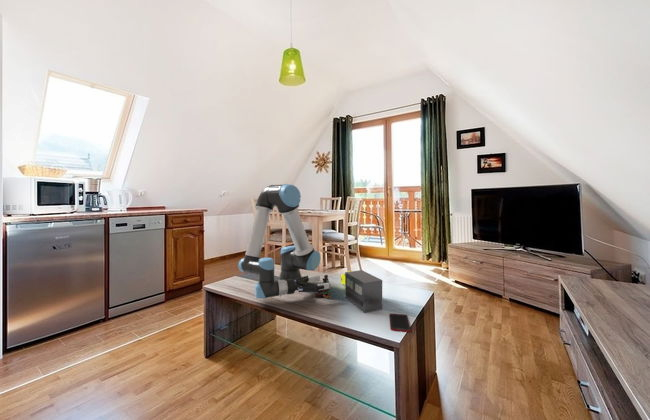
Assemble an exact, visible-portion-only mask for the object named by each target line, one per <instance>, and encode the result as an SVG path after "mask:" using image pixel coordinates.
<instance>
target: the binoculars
mask: <svg viewBox="0 0 650 420" xmlns="http://www.w3.org/2000/svg"><path fill="white" fill-rule="evenodd" d="M324 283H330V281H329V276H328V274H324V275H323V278H322V282H321V284H324ZM330 288H331V287H330ZM330 288H329V289H322V290H318V292H317V293H316V294H315V296H316V298H320V297H323V298H326V299H327V298H328V299H329V298H330V295H331V289H330Z"/></svg>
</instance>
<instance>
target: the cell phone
mask: <svg viewBox="0 0 650 420" xmlns="http://www.w3.org/2000/svg"><path fill="white" fill-rule="evenodd" d="M389 324H390V331H392V332H402V333H411V330H412V329H411V325H410V321H409V316H408V314H404V313H389Z"/></svg>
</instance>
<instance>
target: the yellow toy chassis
mask: <svg viewBox="0 0 650 420" xmlns="http://www.w3.org/2000/svg"><path fill="white" fill-rule="evenodd" d="M347 272H351V270H347ZM340 284H342V285H344V286H345V273H342V274H341V275H340Z"/></svg>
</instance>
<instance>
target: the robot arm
mask: <svg viewBox="0 0 650 420" xmlns="http://www.w3.org/2000/svg"><path fill="white" fill-rule="evenodd" d="M301 198H302V197H301V192H300V190H299V188H298V187H297V186H295V185H293V184H290V183H289V184H288V183H283V184H269V185H268V186H266V187H265V188H264V189H262V191H260V194H259V196H258V197H257V200H256V203H255V206H254V207H255V209H256V211H255V213H254V218H253V222H252V225H251V226H252V227H251V230H250V235H249V238H248V242H247V247H246V249H245V255H244V257H243V258H241V259H240V260H239V261H238V265H237V266H238V267H237V268H238V270H239V271H240V272H242V273H245V274H250V275H254V276H257V277H258V282H257V283H255V284H254V296H255V298H256V299H257V300H258V299H260V300H261V299H268V298H273V297H282V296H286V295H293V294H295V291H298V293H318V291H319V290H322V289H329V288H331V283H330V282H329V283H324V284H322V283H318V284H307V283H314V282H319V281H321V276H320V275H316V276H309V275H305V276H302V273H301V270H305V271H310V272H311V271H315V270H316V269H318V268H319V266H320V264H321V258H322V257H321V256H322V255H321V253H320V252H319V251H318V250H315V248H314V245H313V244H311V243H310V240H309V238H308V235H307V233H306V229H305V227H304V224H303V221H302V217H301V215H300V212H299V207H300V203H301ZM275 207H276V208H277V211H278V213H280V214H282V216H283V219H284V221H285V224H286V226H287V229H288V232H289V235H290V238H291V240H292V242H293V245H289V246H284V247H281V249H280V274H279V276H278V280H275V260H274V258H272V257H261V258H260V256H261V253H262V247H263V243H264V240H265V235H266V232H267V228H268V223H269V220H270V216H271V213H272V212H273V211H274V208H275Z"/></svg>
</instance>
